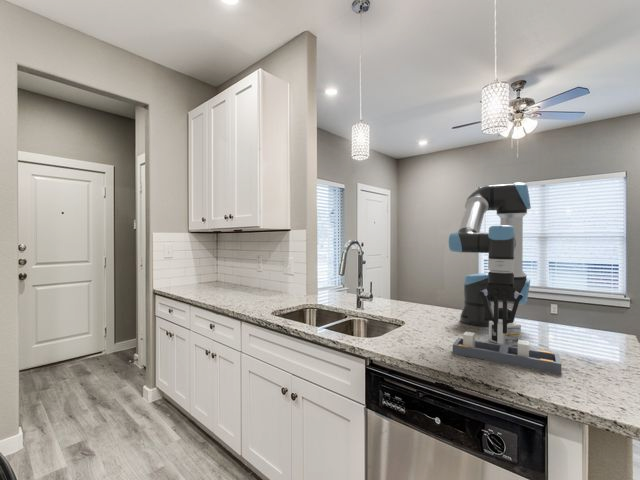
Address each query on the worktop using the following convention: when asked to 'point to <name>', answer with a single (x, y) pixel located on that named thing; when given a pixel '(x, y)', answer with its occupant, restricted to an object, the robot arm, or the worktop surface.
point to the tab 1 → (469, 339)
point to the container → (512, 330)
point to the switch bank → (510, 355)
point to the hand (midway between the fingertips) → (500, 342)
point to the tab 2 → (523, 348)
